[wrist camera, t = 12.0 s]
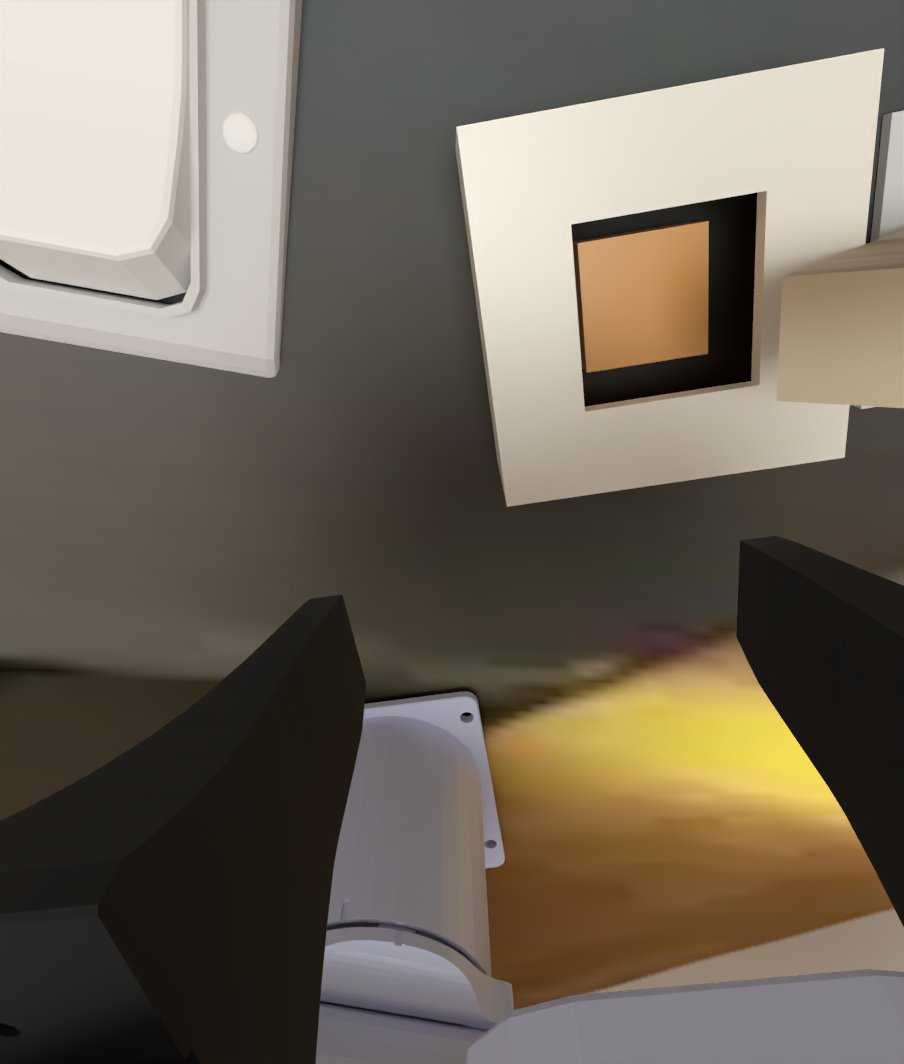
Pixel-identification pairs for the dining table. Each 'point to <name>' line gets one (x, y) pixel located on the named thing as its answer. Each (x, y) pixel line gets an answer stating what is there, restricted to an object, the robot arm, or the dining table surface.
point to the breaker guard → (645, 185)
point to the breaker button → (642, 295)
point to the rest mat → (889, 181)
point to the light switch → (149, 175)
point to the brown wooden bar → (845, 328)
